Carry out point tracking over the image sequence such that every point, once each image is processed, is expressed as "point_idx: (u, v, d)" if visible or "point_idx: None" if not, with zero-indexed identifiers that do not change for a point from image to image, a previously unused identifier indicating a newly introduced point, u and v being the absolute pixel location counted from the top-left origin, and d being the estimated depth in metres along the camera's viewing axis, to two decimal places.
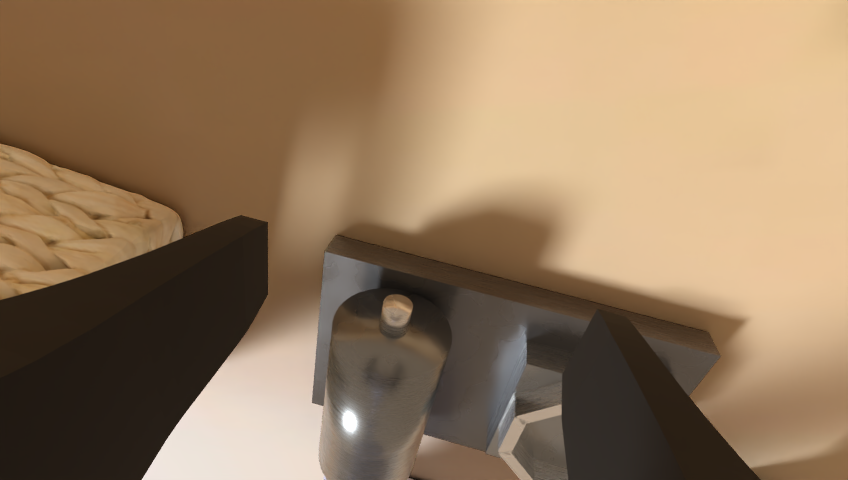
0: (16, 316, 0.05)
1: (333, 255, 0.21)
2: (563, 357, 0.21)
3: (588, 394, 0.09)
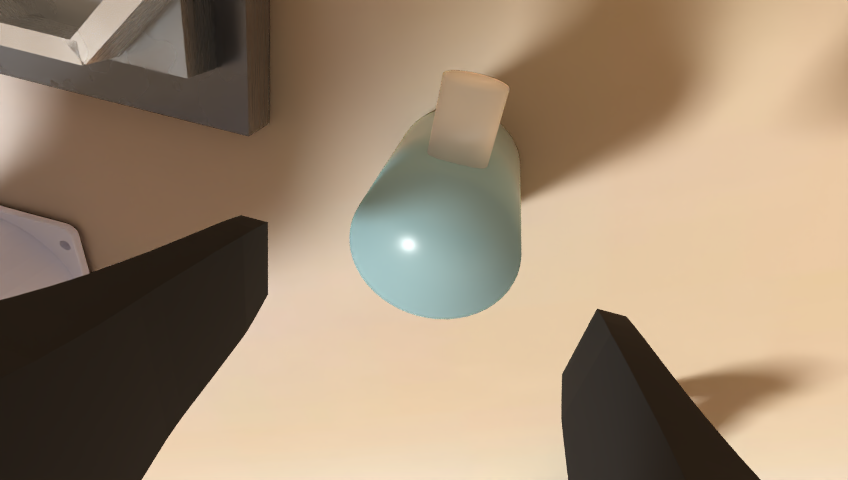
0: (15, 317, 0.05)
1: None
2: None
3: (588, 394, 0.09)
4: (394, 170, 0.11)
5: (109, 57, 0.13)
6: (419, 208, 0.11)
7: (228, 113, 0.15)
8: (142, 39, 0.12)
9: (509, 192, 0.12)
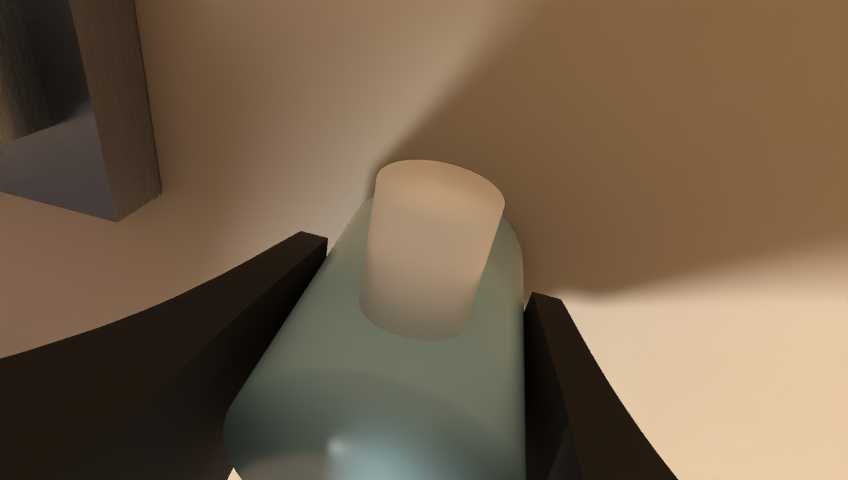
0: (119, 346, 0.05)
1: None
2: None
3: None
4: (294, 343, 0.06)
5: None
6: (337, 420, 0.06)
7: (82, 190, 0.10)
8: None
9: (504, 371, 0.07)
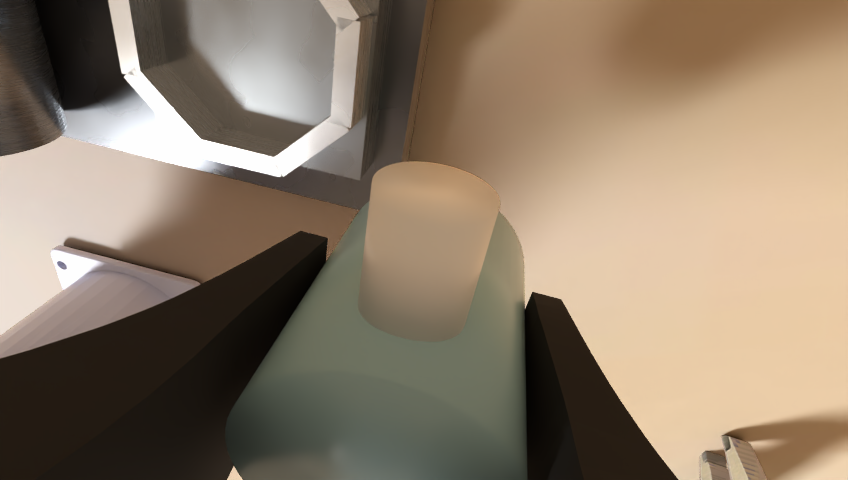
0: (119, 346, 0.05)
1: None
2: None
3: None
4: (294, 346, 0.06)
5: None
6: (337, 422, 0.06)
7: None
8: (325, 149, 0.14)
9: (504, 370, 0.07)
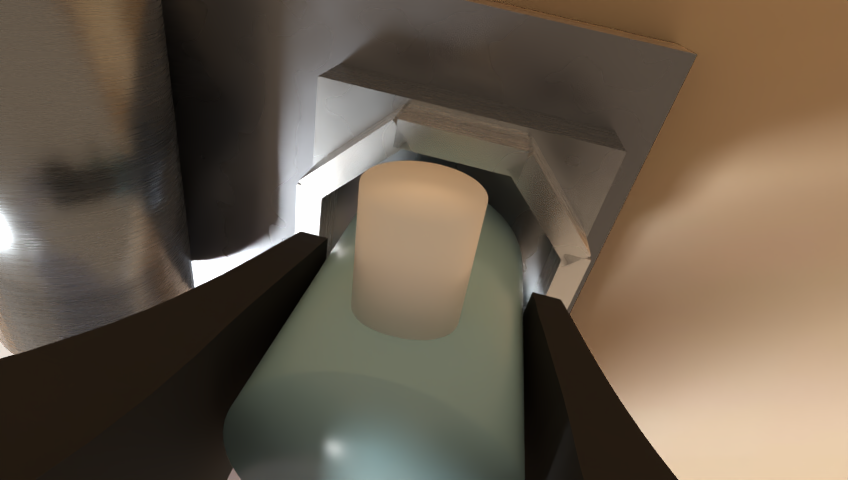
0: (119, 346, 0.05)
1: None
2: (402, 83, 0.11)
3: None
4: (288, 347, 0.06)
5: None
6: (332, 422, 0.06)
7: None
8: None
9: (499, 368, 0.07)
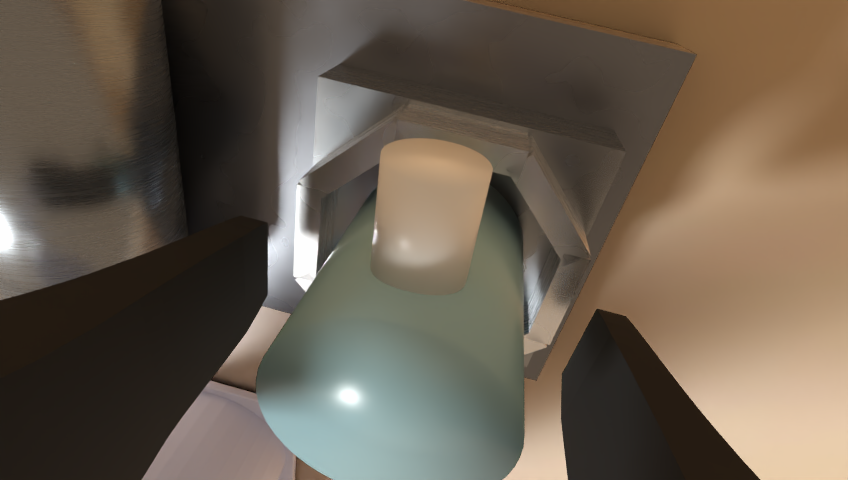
0: (16, 317, 0.05)
1: None
2: (402, 84, 0.11)
3: (588, 394, 0.09)
4: (315, 302, 0.07)
5: None
6: (354, 366, 0.07)
7: None
8: None
9: (502, 323, 0.07)
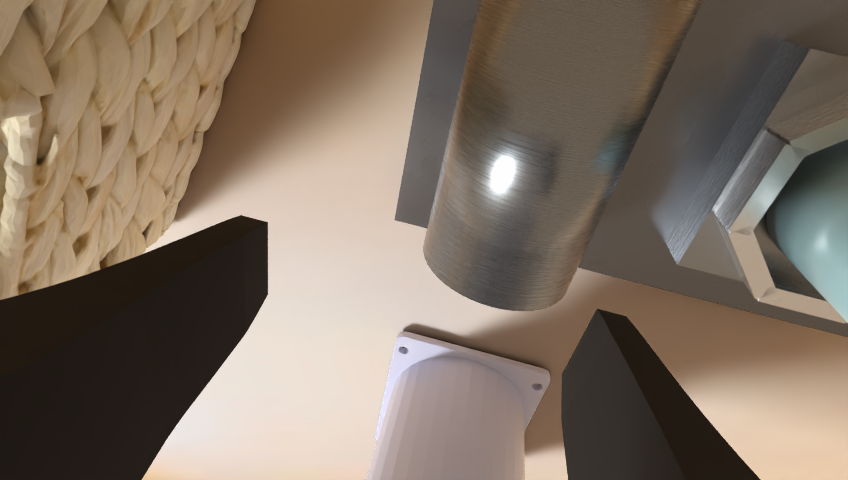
0: (16, 317, 0.05)
1: None
2: None
3: (588, 394, 0.09)
4: None
5: None
6: None
7: None
8: None
9: None
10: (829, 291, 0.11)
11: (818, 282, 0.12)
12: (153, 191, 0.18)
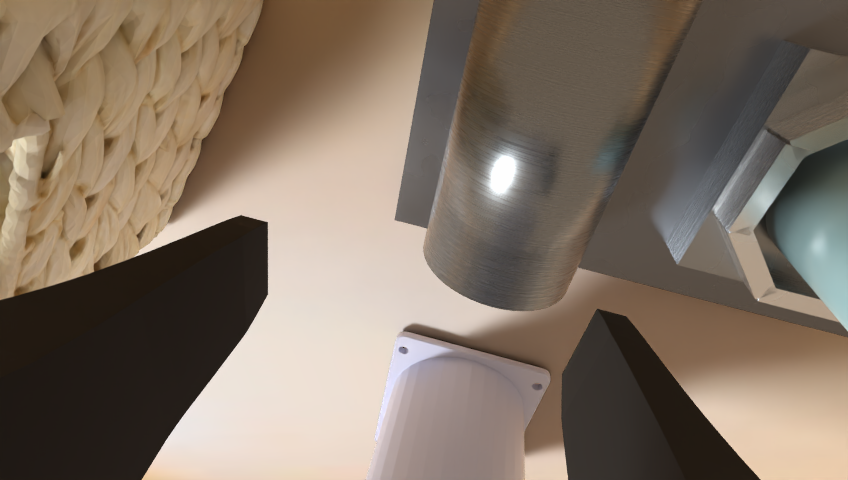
0: (16, 316, 0.05)
1: None
2: None
3: (588, 394, 0.09)
4: None
5: None
6: None
7: None
8: None
9: None
10: (823, 291, 0.11)
11: (813, 281, 0.12)
12: (149, 196, 0.18)
